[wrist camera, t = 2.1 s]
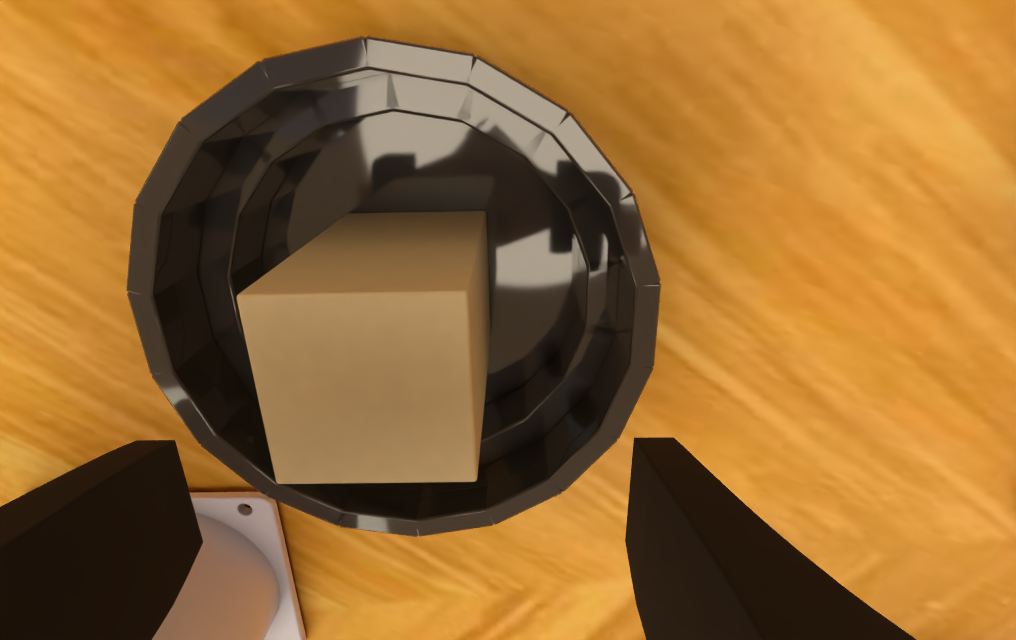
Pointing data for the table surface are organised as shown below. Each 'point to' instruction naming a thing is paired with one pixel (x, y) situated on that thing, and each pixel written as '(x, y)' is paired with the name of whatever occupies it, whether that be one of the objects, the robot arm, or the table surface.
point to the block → (375, 350)
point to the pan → (388, 189)
